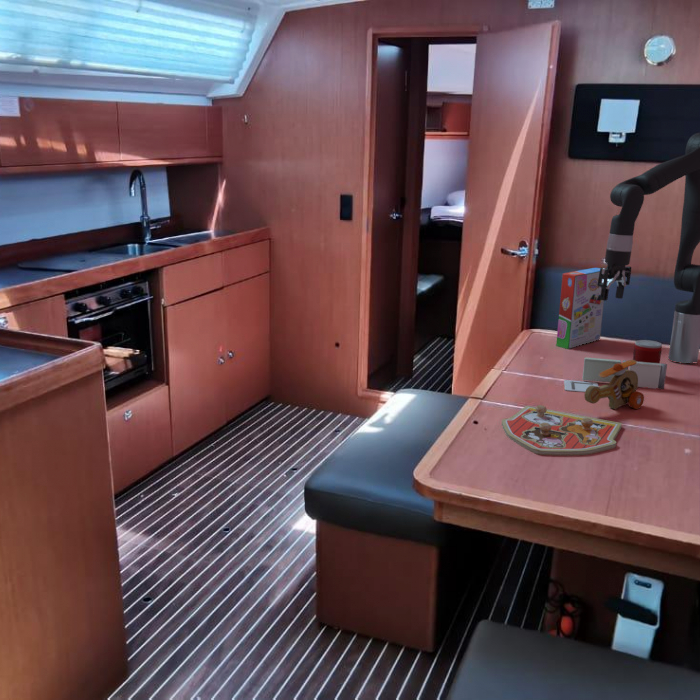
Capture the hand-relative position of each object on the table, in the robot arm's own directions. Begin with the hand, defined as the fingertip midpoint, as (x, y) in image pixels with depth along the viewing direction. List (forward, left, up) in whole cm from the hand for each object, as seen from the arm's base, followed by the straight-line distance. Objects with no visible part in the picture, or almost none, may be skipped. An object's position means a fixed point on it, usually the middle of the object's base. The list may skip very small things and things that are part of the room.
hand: (611, 299), depth 237 cm
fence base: (+14, +13, -23) cm, 30 cm away
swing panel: (+16, +1, -23) cm, 28 cm away
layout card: (+23, -3, -23) cm, 33 cm away
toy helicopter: (+39, +8, -24) cm, 46 cm away
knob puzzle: (+66, -2, -24) cm, 70 cm away
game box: (-29, -13, -24) cm, 40 cm away
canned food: (+2, +13, -24) cm, 27 cm away
